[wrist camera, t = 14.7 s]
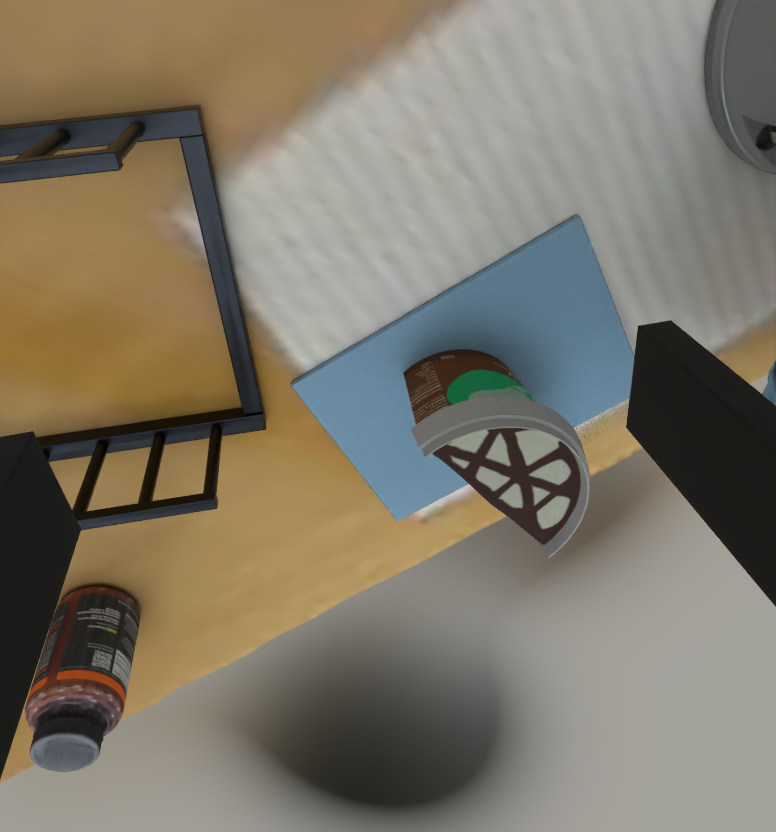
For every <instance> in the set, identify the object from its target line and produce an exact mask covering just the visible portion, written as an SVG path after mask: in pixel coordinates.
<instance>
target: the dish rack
mask: <svg viewBox="0 0 776 832" xmlns="http://www.w3.org/2000/svg"><path fill="white" fill-rule="evenodd" d="M204 131H205V128H204V123H203V119H202V114H201V109H200V106H199V105H194V106H185V107H175V108H165V109H156V110H146V111H137V112H127V113H117V114H108V115H98V116H89V117H79V118H70V119H60V120H50V121H41V122H31V123H22V124H12V125H3V126H0V157H4V156H13V155H20V156H18V157H17V158H15V159H14V160H5V161H0V183H9V182H18V181H27V180H36V179H45V178H54V177H63V176H72V175H81V174H90V173H99V172H108V171H117V170H121V168H122V167H123V163H122V160H123V159H124V158H125V156H126V155H127V154H128V153H129V152H130V150H131V149H132V148H133V147H134V145H135V144H136V143H137V142H143V141H152V140H161V139H170V138H180V143H181V147H182V151H183V155H184V160H185V164H186V168H187V173H188V177H189V181H190V185H191V190H192V194H193V198H194V203H195V207H196V211H197V216H198V220H199V224H200V228H201V233H202V237H203V241H204V246H205V250H206V254H207V258H208V263H209V267H210V271H211V276H212V280H213V284H214V289H215V293H216V297H217V301H218V306H219V310H220V314H221V319H222V323H223V327H224V331H225V336H226V340H227V344H228V349H229V353H230V357H231V362H232V366H233V370H234V374H235V379H236V383H237V387H238V392H239V396H240V400H241V405H242V408H238V409H231V410H224V411H217V412H210V413H204V414H197V415H190V416H183V417H176V418H169V419H162V420H155V421H148V422H142V423H135V424H128V425H121V426H114V427H107V428H100V429H93V430H86V431H80V432H73V433H66V434H59V435H52V436H45V437H38V438H37V440H38V442H39V444H40V446H41V448H42V450H43V452H44V454H45V456H46V459H47V461H48V462H51V461H58V460H64V459H71V458H78V457H84V456H91V455H92V458H91V461H90V463H89V466H88V469H87V472H86V474H85V477H84V480H83V482H82V485H81V488H80V491H79V493H78V496H77V499H76V502H75V504H74V507H73V510H72V511H73V513H74V515H75V517H76V519H77V521H78V523H79V525H80V528H81V530H85V529H91V528H98V527H104V526H110V525H117V524H123V523H129V522H136V521H142V520H148V519H155V518H161V517H167V516H174V515H180V514H186V513H193V512H199V511H205V510H212V509H217V505H218V499H217V495H216V493H217V482H218V472H219V461H220V451H221V440H222V436H226V435H233V434H239V433H246V432H253V431H259V430H265V429H266V417H265V412H264V407H263V403H262V398H261V393H260V388H259V384H258V379H257V374H256V369H255V365H254V360H253V355H252V351H251V346H250V341H249V336H248V332H247V327H246V322H245V317H244V313H243V308H242V303H241V299H240V294H239V289H238V284H237V280H236V275H235V270H234V266H233V261H232V256H231V251H230V247H229V242H228V237H227V232H226V228H225V223H224V218H223V214H222V209H221V204H220V199H219V195H218V190H217V185H216V181H215V176H214V171H213V166H212V162H211V157H210V152H209V147H208V143H207V138H206V133H205V132H204ZM106 145H109V146H108V147H107V148H106V149H105V150H97V151H88V152H79V153H70V154H61V155H54V154H55V153H56V152H58V151H60V150H69V149H78V148H87V147H96V146H106ZM206 438H210V441H209V449H208V458H207V466H206V474H205V483H204V491H203V493H202V494H196V495H189V496H183V497H176V498H170V499H163V500H157V501H152V500H153V495H154V490H155V486H156V481H157V477H158V472H159V467H160V463H161V458H162V454H163V449H164V445H165V444H172V443H179V442H185V441H192V440H199V439H206ZM145 447H151V451H150V455H149V459H148V464H147V468H146V472H145V476H144V480H143V484H142V488H141V492H140V496H139V500H138V504H131V505H125V506H119V507H112V508H106V509H99V510H93V511H87V509H88V506H89V503H90V500H91V497H92V494H93V491H94V488H95V485H96V482H97V479H98V476H99V473H100V470H101V468H102V465H103V462H104V459H105V456H106V453H111V452H118V451H125V450H132V449H138V448H145Z"/></svg>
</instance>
